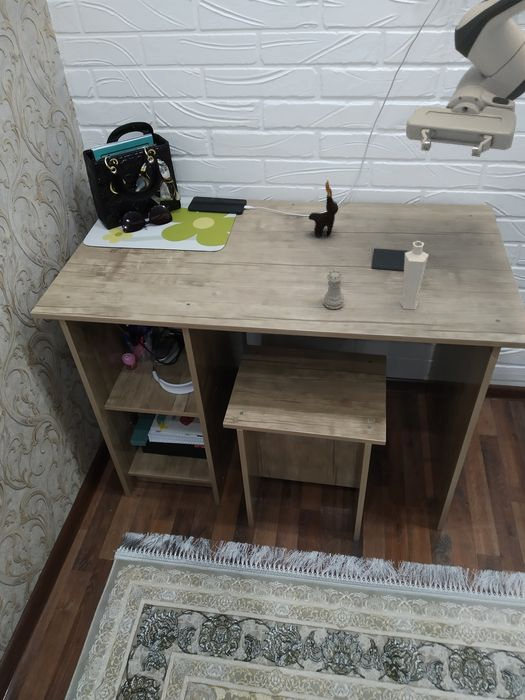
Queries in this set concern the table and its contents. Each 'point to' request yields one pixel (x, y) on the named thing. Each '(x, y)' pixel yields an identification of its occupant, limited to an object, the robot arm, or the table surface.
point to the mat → (388, 259)
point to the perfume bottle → (413, 275)
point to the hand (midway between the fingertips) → (450, 150)
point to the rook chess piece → (334, 291)
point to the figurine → (325, 215)
